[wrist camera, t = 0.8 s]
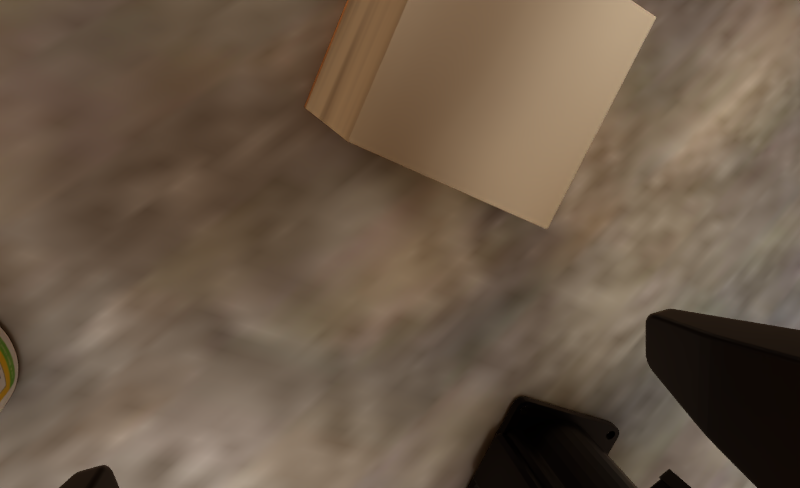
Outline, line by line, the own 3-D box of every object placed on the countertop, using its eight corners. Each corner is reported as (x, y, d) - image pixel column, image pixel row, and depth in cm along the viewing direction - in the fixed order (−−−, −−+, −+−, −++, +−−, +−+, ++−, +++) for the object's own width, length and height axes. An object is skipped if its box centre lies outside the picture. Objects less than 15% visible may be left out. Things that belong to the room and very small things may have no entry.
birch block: (476, 39, 21) (656, 16, 12) (421, 160, 22) (547, 229, 12) (358, -28, 19) (457, -116, 10) (303, 106, 20) (347, 141, 11)
